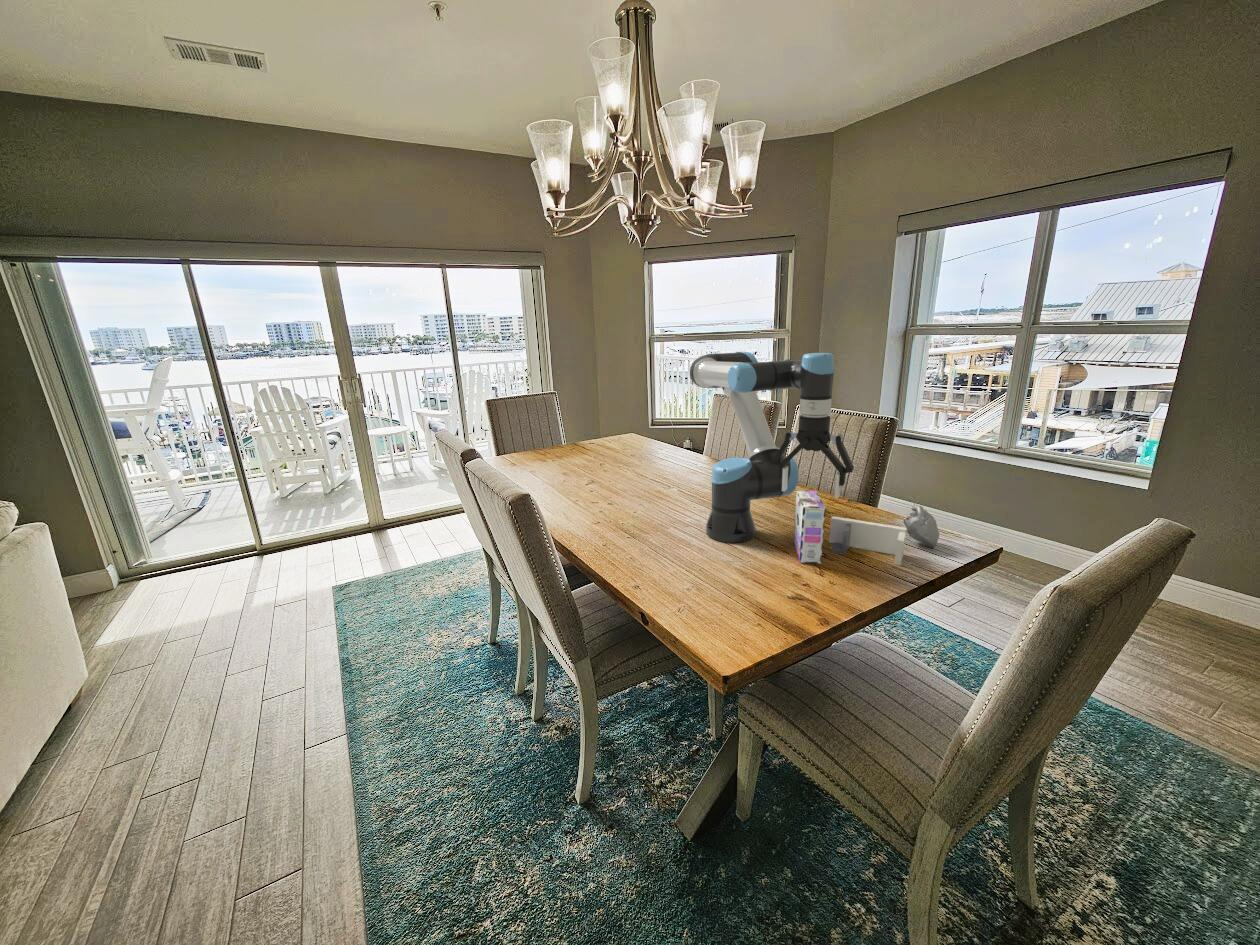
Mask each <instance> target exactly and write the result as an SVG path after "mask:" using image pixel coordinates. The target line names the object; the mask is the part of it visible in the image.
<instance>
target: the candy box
mask: <svg viewBox="0 0 1260 945" xmlns="http://www.w3.org/2000/svg"><path fill="white" fill-rule="evenodd" d="M826 508H827V507H826V506H825V504H824V503H823V501H822V498H821V497H820V495H819V494H818V491H817V490H796V494H795V512H794V513H795V514H794V515H795V516H794V517H795V518H794V535H793V545H794V548H795V550H796V551H795V552H796V554H797V557H798V561H799V564H801V563H803V564H817V565H818V564H819V565H822V561H823V560H822V559H823V558H822V557H823V545H824V532H825V518H826Z"/></svg>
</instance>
